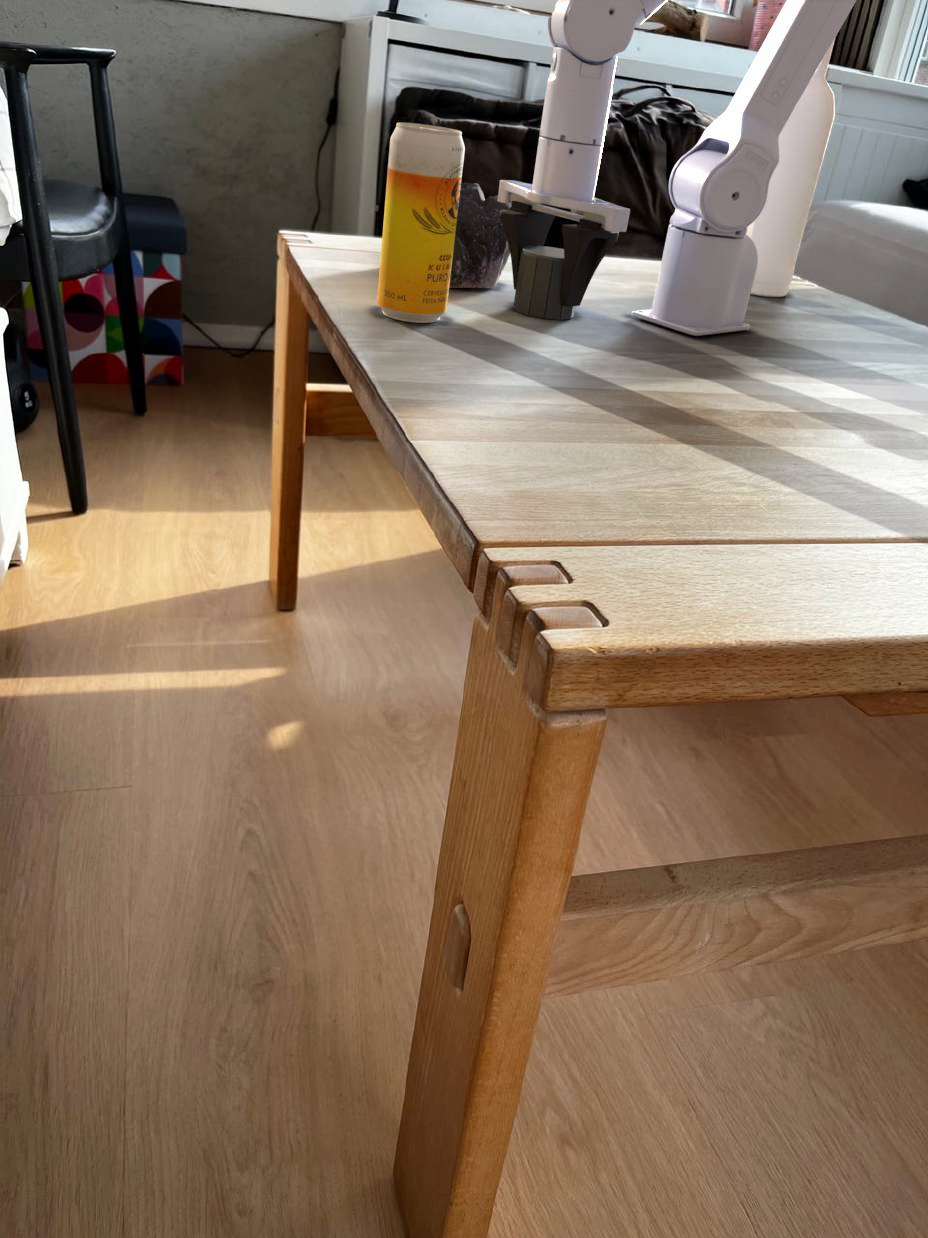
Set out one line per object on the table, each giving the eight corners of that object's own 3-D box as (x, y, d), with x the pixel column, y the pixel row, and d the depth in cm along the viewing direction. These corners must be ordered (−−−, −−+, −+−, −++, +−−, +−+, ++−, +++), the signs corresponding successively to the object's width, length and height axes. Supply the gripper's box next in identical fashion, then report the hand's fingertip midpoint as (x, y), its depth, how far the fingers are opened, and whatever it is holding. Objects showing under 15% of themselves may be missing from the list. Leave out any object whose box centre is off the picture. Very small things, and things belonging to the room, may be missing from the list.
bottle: (796, 293, 125) (873, 9, 110) (775, 300, 119) (854, 1, 104) (734, 279, 128) (801, 2, 114) (711, 285, 122) (778, -6, 108)
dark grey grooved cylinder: (542, 302, 101) (551, 245, 99) (585, 317, 98) (595, 257, 95) (501, 306, 98) (510, 245, 95) (544, 321, 94) (554, 259, 92)
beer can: (437, 328, 87) (458, 134, 79) (367, 316, 87) (382, 122, 80) (451, 314, 92) (473, 131, 85) (386, 303, 93) (402, 120, 85)
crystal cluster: (355, 281, 102) (367, 177, 97) (402, 252, 113) (415, 156, 108) (481, 317, 100) (500, 212, 95) (516, 283, 111) (536, 187, 106)
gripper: (483, 126, 93) (464, 280, 99) (603, 151, 84) (574, 318, 90) (536, 131, 97) (515, 278, 104) (656, 154, 88) (624, 314, 95)
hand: (546, 297), depth 97 cm, fingers closed on dark grey grooved cylinder, 6 cm apart
